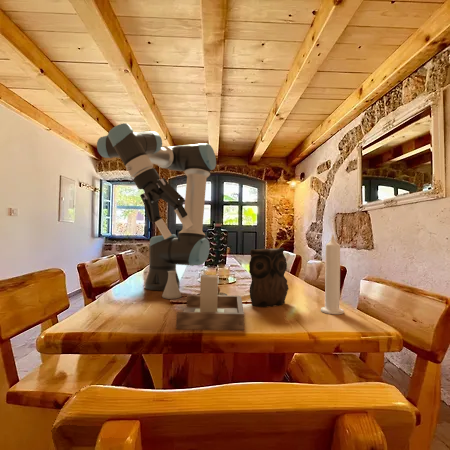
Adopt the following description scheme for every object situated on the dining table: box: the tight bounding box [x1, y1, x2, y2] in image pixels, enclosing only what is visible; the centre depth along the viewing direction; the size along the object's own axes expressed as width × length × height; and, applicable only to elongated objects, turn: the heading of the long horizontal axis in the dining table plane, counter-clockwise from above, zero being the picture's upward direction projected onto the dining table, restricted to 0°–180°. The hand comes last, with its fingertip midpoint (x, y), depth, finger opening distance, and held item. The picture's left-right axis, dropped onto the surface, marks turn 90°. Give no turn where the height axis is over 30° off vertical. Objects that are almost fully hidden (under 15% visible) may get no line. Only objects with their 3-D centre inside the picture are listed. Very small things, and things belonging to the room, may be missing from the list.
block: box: [199, 274, 219, 312], centre depth 94 cm, size 5×4×11 cm
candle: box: [320, 234, 345, 315], centre depth 102 cm, size 7×7×25 cm
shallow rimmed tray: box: [175, 294, 245, 331], centre depth 94 cm, size 18×22×4 cm
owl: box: [248, 247, 289, 308], centre depth 111 cm, size 13×13×20 cm
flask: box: [161, 270, 183, 300], centre depth 120 cm, size 7×7×10 cm
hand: (178, 232), depth 99 cm, fingers open, 13 cm apart
